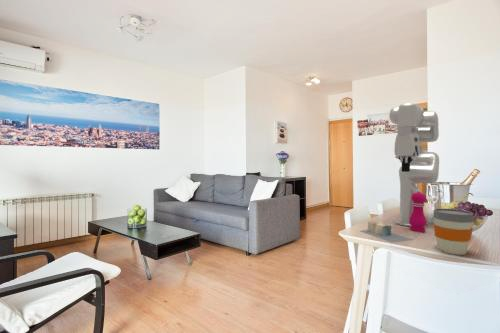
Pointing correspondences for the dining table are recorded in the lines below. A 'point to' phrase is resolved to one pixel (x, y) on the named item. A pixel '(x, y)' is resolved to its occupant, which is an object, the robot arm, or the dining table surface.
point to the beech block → (379, 228)
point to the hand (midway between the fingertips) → (405, 171)
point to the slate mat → (388, 237)
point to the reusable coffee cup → (453, 230)
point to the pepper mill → (418, 212)
